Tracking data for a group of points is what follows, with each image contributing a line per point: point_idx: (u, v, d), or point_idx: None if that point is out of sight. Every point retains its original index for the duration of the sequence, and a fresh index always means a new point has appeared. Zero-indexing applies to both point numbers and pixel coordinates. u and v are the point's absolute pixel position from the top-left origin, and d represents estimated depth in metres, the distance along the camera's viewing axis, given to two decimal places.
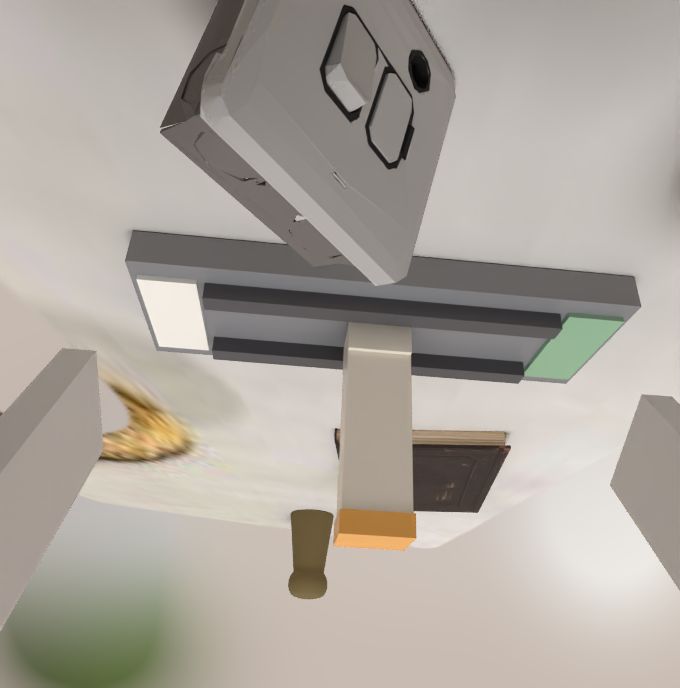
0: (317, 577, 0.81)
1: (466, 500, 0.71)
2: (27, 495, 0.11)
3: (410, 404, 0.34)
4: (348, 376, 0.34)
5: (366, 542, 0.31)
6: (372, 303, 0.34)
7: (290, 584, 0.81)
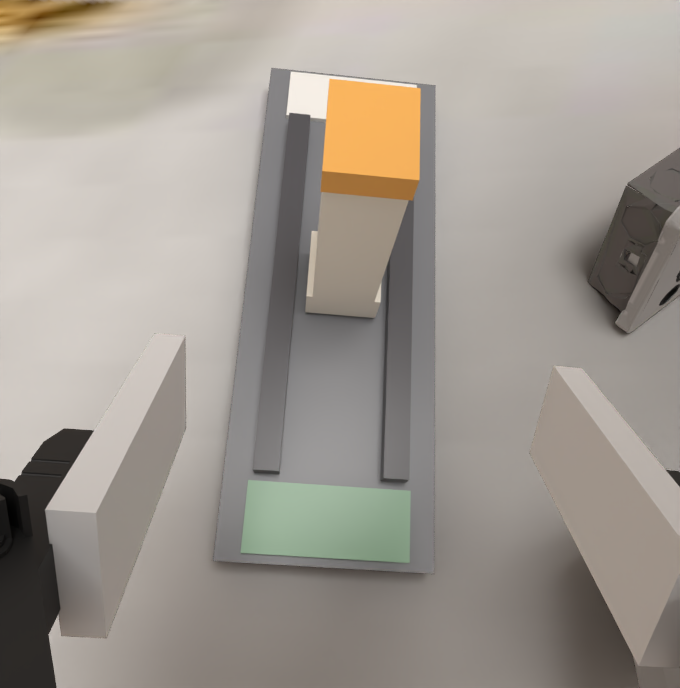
0: None
1: None
2: (145, 462, 0.12)
3: (383, 272, 0.27)
4: None
5: (370, 119, 0.21)
6: None
7: None
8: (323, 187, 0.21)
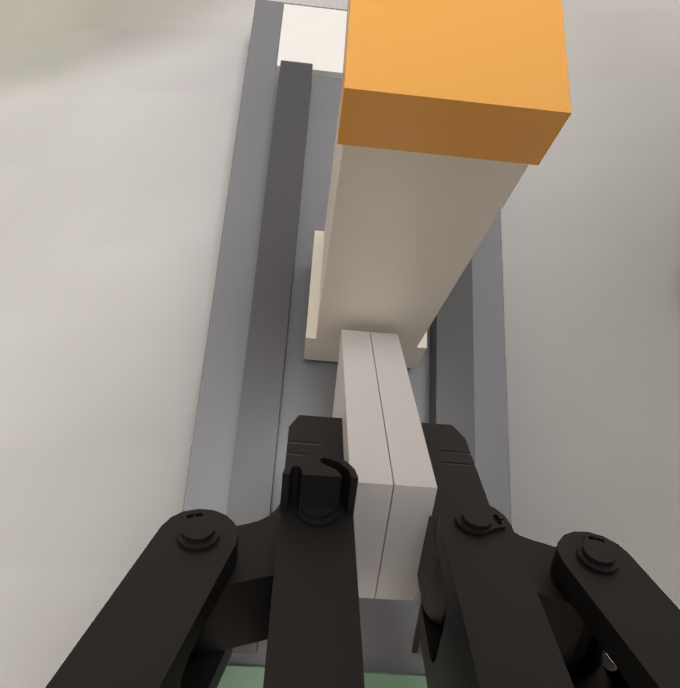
0: None
1: None
2: None
3: None
4: None
5: None
6: None
7: None
8: (344, 132, 0.09)
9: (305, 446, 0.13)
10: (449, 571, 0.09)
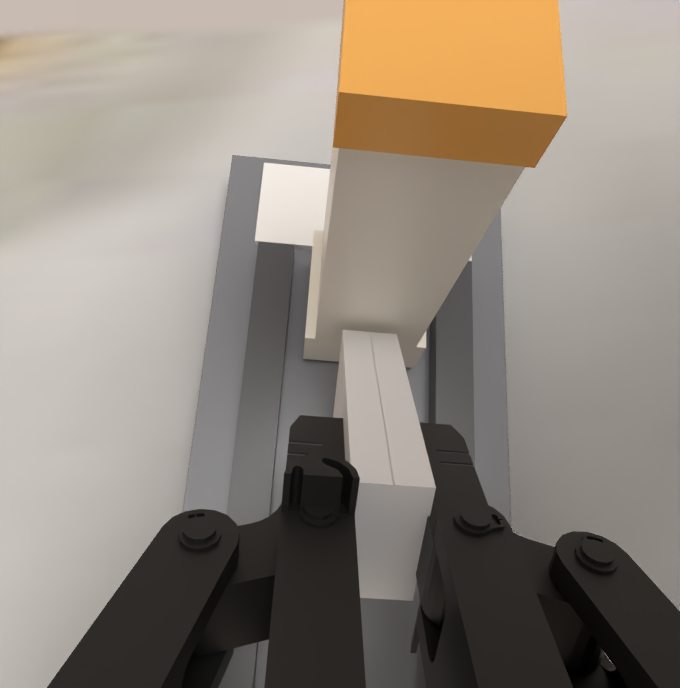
0: None
1: None
2: None
3: (440, 304, 0.15)
4: None
5: None
6: None
7: None
8: (340, 136, 0.09)
9: (306, 446, 0.13)
10: (448, 571, 0.09)
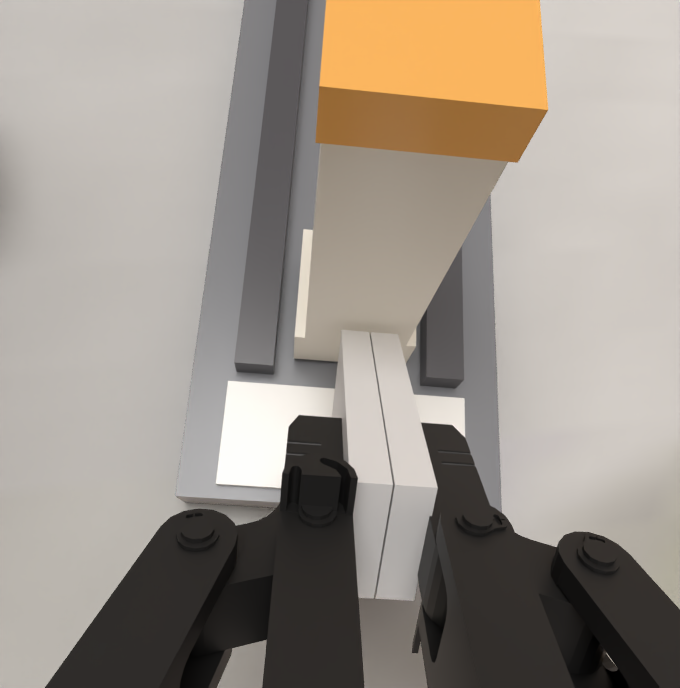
0: None
1: None
2: None
3: None
4: (306, 313, 0.16)
5: (443, 12, 0.09)
6: None
7: None
8: None
9: (305, 446, 0.13)
10: (450, 571, 0.09)
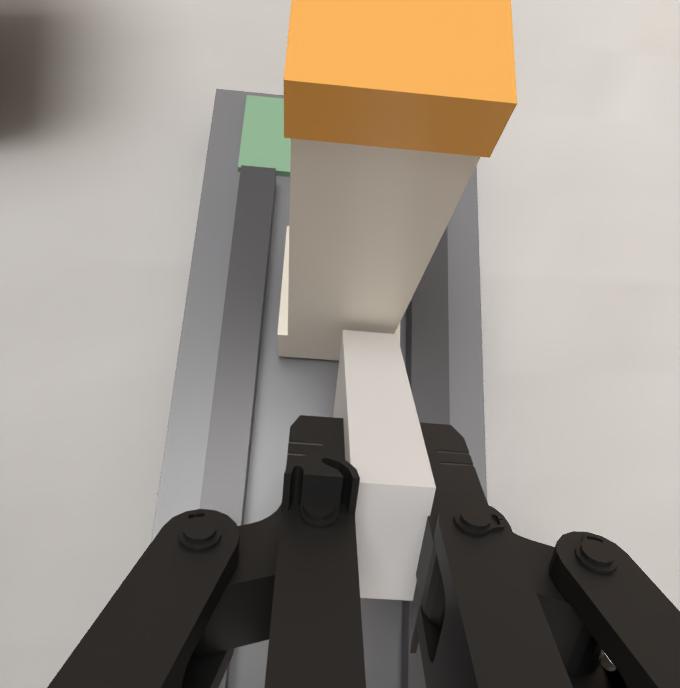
0: None
1: None
2: None
3: None
4: (288, 310, 0.16)
5: (411, 4, 0.09)
6: None
7: None
8: None
9: (306, 446, 0.13)
10: (448, 571, 0.09)
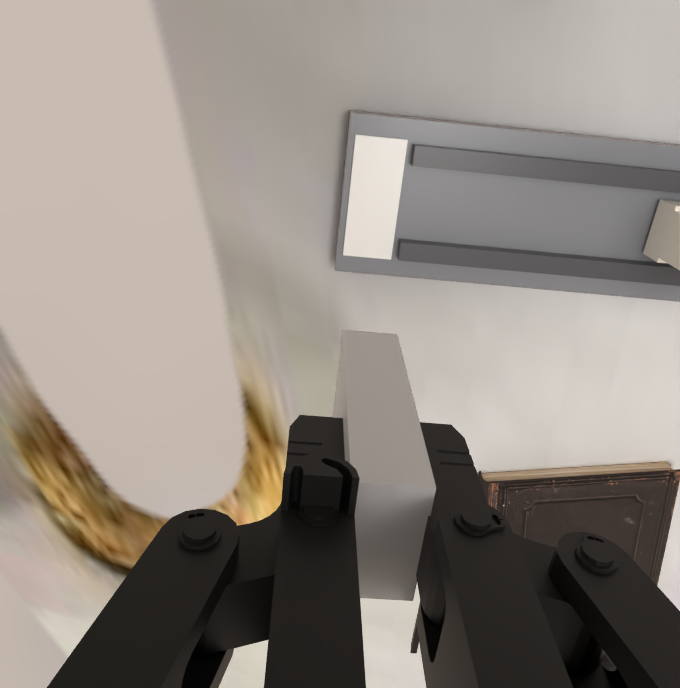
0: None
1: None
2: None
3: None
4: None
5: None
6: (561, 159, 0.38)
7: None
8: None
9: (306, 446, 0.13)
10: (448, 571, 0.09)
